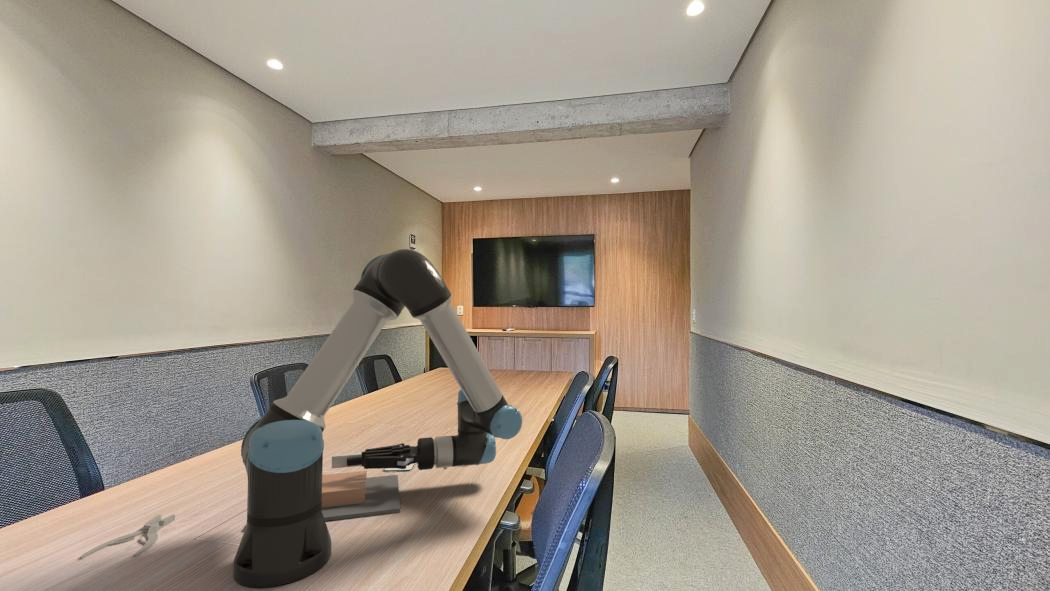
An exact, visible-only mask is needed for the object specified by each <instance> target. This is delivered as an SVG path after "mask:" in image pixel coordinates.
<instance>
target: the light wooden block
mask: <svg viewBox="0 0 1050 591" xmlns="http://www.w3.org/2000/svg"><path fill="white" fill-rule="evenodd" d="M367 472H368V471H367V470H360V471H352V472H351V471H349V472H341V473H339V472H338V473H330V474H322V508H324V507H333V506H341V505H350V504H358V503H363V502H365V494H366V484H367V478H368V473H367Z"/></svg>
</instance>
